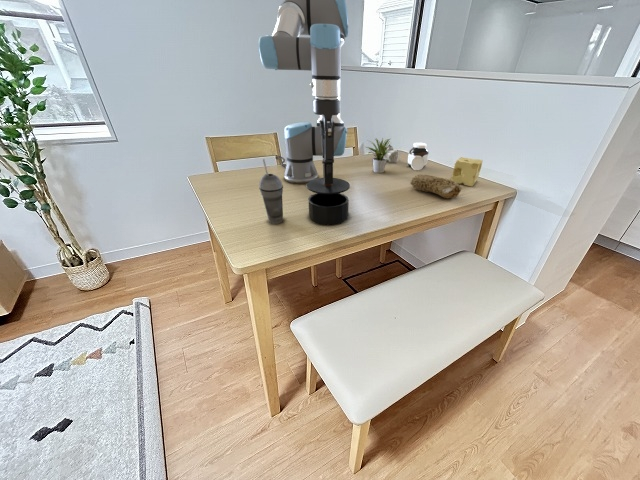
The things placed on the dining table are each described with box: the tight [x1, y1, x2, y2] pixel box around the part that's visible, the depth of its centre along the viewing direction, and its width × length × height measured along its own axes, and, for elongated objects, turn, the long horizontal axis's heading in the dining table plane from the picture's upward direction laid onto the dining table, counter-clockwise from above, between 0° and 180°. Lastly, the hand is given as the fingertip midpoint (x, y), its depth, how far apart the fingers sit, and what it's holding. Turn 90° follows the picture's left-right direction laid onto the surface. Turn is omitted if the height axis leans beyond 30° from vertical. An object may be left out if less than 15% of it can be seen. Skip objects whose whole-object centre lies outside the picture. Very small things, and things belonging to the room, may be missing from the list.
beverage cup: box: [259, 158, 284, 225], centre depth 87 cm, size 7×7×20 cm
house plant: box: [365, 137, 392, 174], centre depth 138 cm, size 14×14×16 cm
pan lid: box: [305, 158, 351, 194], centre depth 88 cm, size 14×14×9 cm
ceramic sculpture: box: [373, 144, 400, 164], centre depth 156 cm, size 11×9×15 cm
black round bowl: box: [307, 193, 350, 226], centre depth 95 cm, size 13×13×6 cm
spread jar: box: [407, 142, 429, 171], centre depth 145 cm, size 12×11×12 cm
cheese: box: [450, 156, 484, 187], centre depth 129 cm, size 10×11×10 cm
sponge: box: [410, 174, 462, 199], centre depth 117 cm, size 13×8×20 cm
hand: (328, 181), depth 90 cm, fingers closed on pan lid, 3 cm apart
